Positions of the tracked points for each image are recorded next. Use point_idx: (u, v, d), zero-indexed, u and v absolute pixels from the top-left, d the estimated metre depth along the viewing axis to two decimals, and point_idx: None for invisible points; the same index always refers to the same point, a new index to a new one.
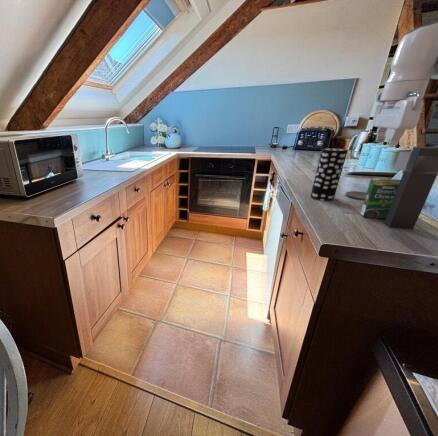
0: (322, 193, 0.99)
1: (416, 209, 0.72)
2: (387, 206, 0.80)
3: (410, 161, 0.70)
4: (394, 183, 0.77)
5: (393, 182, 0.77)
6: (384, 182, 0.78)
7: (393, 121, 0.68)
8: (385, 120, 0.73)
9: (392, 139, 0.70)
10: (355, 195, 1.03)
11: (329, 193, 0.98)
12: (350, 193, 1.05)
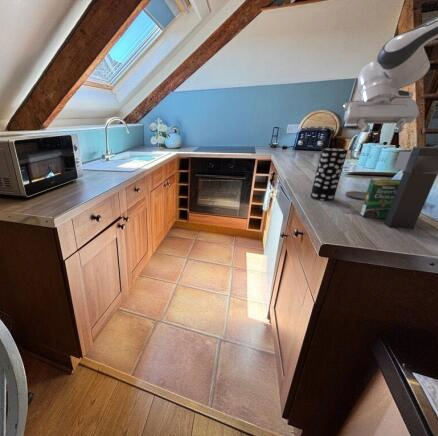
0: (322, 193, 0.99)
1: (416, 209, 0.72)
2: (387, 206, 0.80)
3: (410, 161, 0.70)
4: (394, 183, 0.77)
5: (393, 182, 0.77)
6: (384, 182, 0.78)
7: None
8: None
9: (361, 128, 0.86)
10: (355, 195, 1.03)
11: (329, 193, 0.98)
12: (350, 193, 1.05)
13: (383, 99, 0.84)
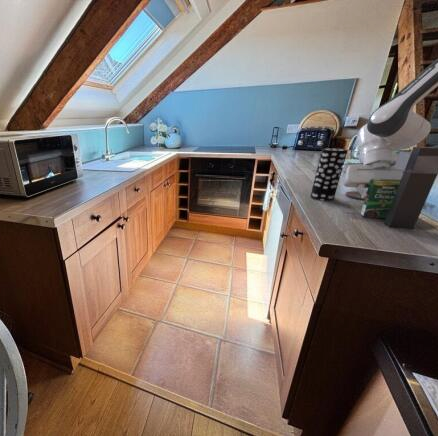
0: (322, 193, 0.99)
1: (416, 209, 0.72)
2: (387, 206, 0.80)
3: (410, 161, 0.70)
4: (394, 183, 0.77)
5: (393, 182, 0.77)
6: (384, 182, 0.78)
7: None
8: None
9: (361, 193, 0.83)
10: (355, 195, 1.03)
11: (329, 193, 0.98)
12: (350, 193, 1.05)
13: (383, 165, 0.81)
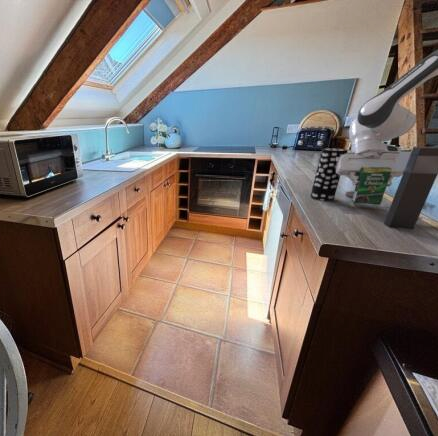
0: (322, 193, 0.99)
1: (416, 209, 0.72)
2: (376, 192, 0.86)
3: (410, 161, 0.70)
4: (382, 170, 0.83)
5: (381, 169, 0.83)
6: (373, 169, 0.84)
7: None
8: None
9: (352, 181, 0.89)
10: None
11: (329, 193, 0.98)
12: (350, 193, 1.05)
13: (372, 154, 0.88)
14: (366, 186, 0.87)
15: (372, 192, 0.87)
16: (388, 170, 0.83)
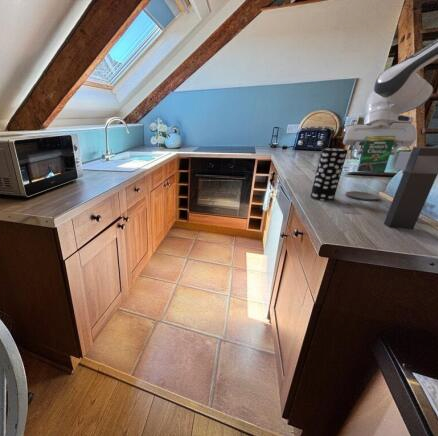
0: (322, 193, 0.99)
1: (416, 209, 0.72)
2: (379, 160, 0.89)
3: (410, 161, 0.70)
4: (385, 138, 0.86)
5: (384, 137, 0.86)
6: (376, 138, 0.88)
7: None
8: None
9: (357, 150, 0.93)
10: (355, 195, 1.03)
11: (329, 193, 0.98)
12: (350, 193, 1.05)
13: (381, 124, 0.90)
14: (369, 154, 0.90)
15: (375, 160, 0.90)
16: (391, 138, 0.85)
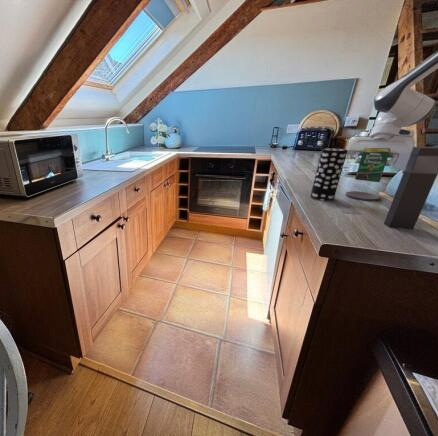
0: (322, 193, 0.99)
1: (416, 209, 0.72)
2: (374, 170, 0.97)
3: (410, 161, 0.70)
4: (380, 150, 0.94)
5: (379, 149, 0.94)
6: (371, 149, 0.96)
7: None
8: None
9: (356, 160, 1.02)
10: (355, 195, 1.03)
11: (329, 193, 0.98)
12: (350, 193, 1.05)
13: (381, 136, 0.97)
14: (365, 164, 0.99)
15: (371, 170, 0.98)
16: (385, 150, 0.93)
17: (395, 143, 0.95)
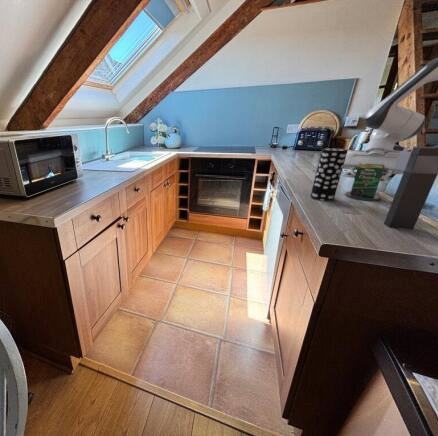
0: (322, 193, 0.99)
1: (416, 209, 0.72)
2: (369, 185, 0.99)
3: (410, 161, 0.70)
4: (374, 166, 0.97)
5: (373, 166, 0.97)
6: (366, 165, 0.98)
7: None
8: None
9: None
10: (355, 195, 1.03)
11: (329, 193, 0.98)
12: (350, 193, 1.05)
13: (376, 152, 1.00)
14: (360, 179, 1.01)
15: (366, 185, 1.00)
16: (379, 167, 0.96)
17: (389, 159, 0.98)
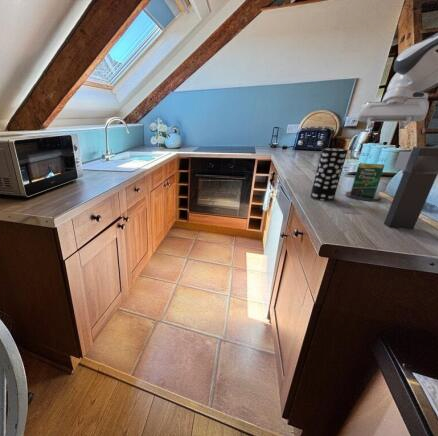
0: (322, 193, 0.99)
1: (416, 209, 0.72)
2: (369, 185, 0.99)
3: (410, 161, 0.70)
4: (374, 166, 0.97)
5: (373, 166, 0.97)
6: (366, 165, 0.98)
7: None
8: None
9: None
10: (355, 195, 1.03)
11: (329, 193, 0.98)
12: (350, 193, 1.05)
13: (395, 100, 0.97)
14: (360, 179, 1.01)
15: (366, 185, 1.00)
16: (379, 167, 0.96)
17: (409, 106, 0.95)
